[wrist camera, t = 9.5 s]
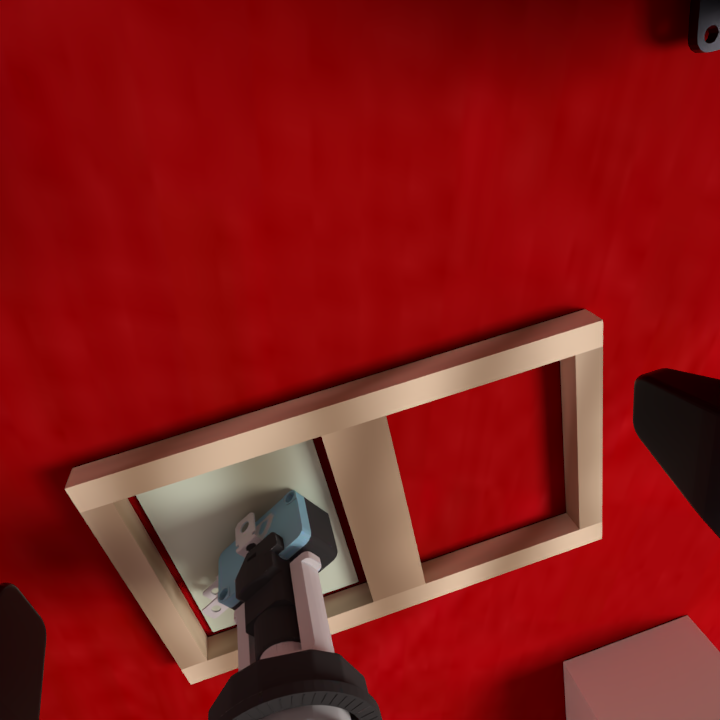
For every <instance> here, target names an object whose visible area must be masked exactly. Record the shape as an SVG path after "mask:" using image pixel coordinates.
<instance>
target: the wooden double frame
mask: <svg viewBox="0 0 720 720" xmlns="http://www.w3.org/2000/svg"><path fill="white" fill-rule="evenodd" d="M559 360H560V372H561V397H562V422H563V446H564V471H565V496H566V513H564V514H561V515H559V516H556V517H553V518H550V519H547V520H544V521H541V522H538V523H535V524H533V525H530V526H527V527H524V528H521V529H518V530H515V531H512V532H510V533H507V534H504V535H501V536H498V537H495V538H492V539H489V540H487V541H484V542H481V543H478V544H475V545H472V546H469V547H466V548H464V549H461V550H458V551H455V552H452V553H449V554H446V555H443V556H441V557H438V558H435V559H432V560H429V561H426V562H423V563H421V562H420V558H419V553H418V549H417V545H416V541H415V537H414V532H413V528H412V524H411V520H410V515H409V511H408V507H407V503H406V499H405V494H404V490H403V486H402V482H401V477H400V473H399V469H398V465H397V460H396V456H395V452H394V448H393V444H392V439H391V435H390V431H389V427H388V422H387V418H386V415H389V414H393V413H396V412H399V411H402V410H405V409H408V408H411V407H415V406H418V405H421V404H424V403H427V402H430V401H433V400H436V399H440V398H443V397H446V396H449V395H452V394H455V393H458V392H462V391H465V390H468V389H471V388H474V387H477V386H480V385H484V384H487V383H490V382H493V381H496V380H499V379H502V378H506V377H509V376H512V375H515V374H518V373H521V372H524V371H528V370H531V369H534V368H537V367H540V366H543V365H546V364H550V363H553V362H556V361H559ZM602 417H603V320H602V319H600V318H599V317H597V316H595V315H594V314H592V313H591V312H589V311H587V310H586V309H584V310H581V311H577V312H574V313H571V314H568V315H564V316H561V317H558V318H555V319H552V320H548V321H545V322H542V323H539V324H535V325H532V326H529V327H526V328H522V329H519V330H516V331H513V332H510V333H506V334H503V335H500V336H497V337H493V338H490V339H487V340H484V341H481V342H477V343H474V344H471V345H468V346H464V347H461V348H458V349H455V350H452V351H448V352H445V353H442V354H439V355H435V356H432V357H429V358H426V359H423V360H419V361H416V362H413V363H410V364H406V365H403V366H400V367H397V368H394V369H390V370H387V371H384V372H381V373H377V374H374V375H371V376H368V377H365V378H361V379H358V380H355V381H352V382H348V383H345V384H342V385H339V386H336V387H332V388H329V389H326V390H323V391H319V392H316V393H313V394H310V395H307V396H303V397H300V398H297V399H294V400H290V401H287V402H284V403H281V404H278V405H274V406H271V407H268V408H265V409H261V410H258V411H255V412H252V413H249V414H245V415H242V416H239V417H236V418H232V419H229V420H226V421H223V422H219V423H216V424H213V425H210V426H207V427H203V428H200V429H197V430H194V431H190V432H187V433H184V434H181V435H178V436H174V437H171V438H168V439H165V440H161V441H158V442H155V443H152V444H149V445H145V446H142V447H139V448H136V449H132V450H129V451H126V452H123V453H120V454H116V455H113V456H110V457H107V458H103V459H100V460H97V461H94V462H91V463H87V464H84V465H81V466H78V467H74V468H72V470H71V473H70V476H69V478H68V481H67V483H66V486H65V491H66V492H67V494H68V495H69V497H70V498H71V500H72V501H73V503H74V504H75V506H76V508H77V509H78V511H79V512H80V514H81V515H82V517H83V518H84V520H85V521H86V523H87V525H88V526H89V528H90V529H91V531H92V532H93V534H94V535H95V537H96V538H97V540H98V542H99V543H100V545H101V546H102V548H103V549H104V551H105V552H106V554H107V555H108V557H109V559H110V560H111V562H112V563H113V565H114V566H115V568H116V569H117V571H118V572H119V574H120V576H121V577H122V579H123V580H124V582H125V583H126V585H127V586H128V588H129V589H130V591H131V593H132V594H133V596H134V597H135V599H136V600H137V602H138V603H139V605H140V606H141V608H142V610H143V611H144V613H145V614H146V616H147V617H148V619H149V620H150V622H151V623H152V625H153V627H154V628H155V630H156V631H157V633H158V634H159V636H160V637H161V639H162V640H163V642H164V644H165V645H166V647H167V648H168V650H169V651H170V653H171V654H172V656H173V657H174V659H175V661H176V662H177V664H178V665H179V667H180V668H181V670H182V671H183V673H184V674H185V676H186V678H187V679H188V681H189V682H190V684H194V683H197V682H199V681H202V680H205V679H208V678H211V677H214V676H216V675H219V674H222V673H225V672H228V671H230V670H233V669H236V668H238V637H237V627H236V628H233V629H231V630H228V631H225V632H222V633H219V634H216V635H213V636H210V637H207V635H206V633H205V632H204V630H203V628H202V627H201V625H200V623H199V621H198V620H197V618H196V616H195V614H194V613H193V611H192V609H191V607H190V606H189V604H188V602H187V601H186V599H185V597H184V595H183V594H182V592H181V590H180V588H179V587H178V585H177V583H176V582H175V580H174V578H173V576H172V575H171V573H170V571H169V569H168V568H167V566H166V564H165V562H164V561H163V559H162V557H161V556H160V554H159V552H158V550H157V549H156V547H155V545H154V543H153V542H152V540H151V538H150V536H149V535H148V533H147V531H146V530H145V528H144V526H143V524H142V523H141V521H140V519H139V517H138V516H137V514H136V512H135V510H134V509H133V507H132V505H131V504H130V502H129V500H128V498H129V497H132V496H135V495H136V497H137V499H138V500H139V502H140V504H141V506H142V508H143V509H144V511H145V513H146V515H147V516H148V518H149V520H150V522H151V523H152V525H153V527H154V529H155V531H156V532H157V534H158V536H159V538H160V539H161V541H162V543H163V545H164V546H165V548H166V550H167V552H168V554H169V555H170V557H171V559H172V561H173V562H174V564H175V566H176V568H177V569H178V571H179V573H180V575H181V577H182V578H183V580H184V582H185V584H186V585H187V587H188V589H189V591H190V592H191V594H192V596H193V598H194V600H195V601H196V603H197V605H198V607H199V608H200V610H201V612H202V609H204V608H205V607H206V606H207V605H208V604H209V603H210V602H212V601H213V600H211V599H209V598H207V597H205V596H203V591H205V590H206V589H207V588H208V587H209V586H210V585H211V584H213V583H214V582H215V581H216V580H217V578H216V576H217V575H218V561H219V557H220V555H221V553H222V552H223V551H224V550H225V549H226V548H227V547H228V546H230V545H231V544H232V543H233V542H234V541H235V540H236V538H235V528H236V526H237V524H238V523H239V522H240V521H241V520H242V519H243V518H245V517H246V516H247V515H248V514H249V513H250V512H252V513H255V522H256V521H258V520H259V519H260V518H261V517H262V516H263V515H264V514H265V513H267V512H268V511H269V510H270V509H271V508H272V507H273V506H274V505H276V504H277V503H278V502H279V501H280V500H281V499H282V498H283V497H284V496H285V495H286V494H287V493H288V492H289V491H291V490H295V491H296V492H298V493H299V494H300V495H302V496H303V497H305V498H306V499H308V500H309V501H310V502H312V503H313V504H315V505H316V506H318V507H319V508H321V509H322V510H324V511H325V512H327V513H328V514H329V518H330V522H331V526H332V530H333V534H334V538H335V542H336V546H337V550H338V553H337V556H336V558H335V559H334V561H332V562H331V563H330V564H329V565H328V566H326V567H325V568H324V569H323V570H322V571H321V572H319V573H318V574H319V579H320V584H321V589H322V594H325V593H328V592H331V591H334V590H337V589H340V588H342V587H345V586H348V585H351V584H354V583H357V582H359V580H358V577H357V574H356V571H355V568H354V565H353V562H352V559H351V556H350V553H349V550H348V547H347V543H346V540H345V537H344V534H343V531H342V528H341V525H340V522H339V519H338V516H337V513H336V510H335V507H334V504H333V501H332V498H331V495H330V491H329V488H328V485H327V482H326V479H325V476H324V473H323V470H322V467H321V464H320V461H319V458H318V455H317V452H316V449H315V446H314V443H313V439H314V438H317V437H320V436H321V437H322V440H323V443H324V446H325V449H326V453H327V456H328V459H329V462H330V465H331V468H332V472H333V475H334V478H335V481H336V484H337V487H338V491H339V494H340V497H341V500H342V503H343V507H344V510H345V513H346V516H347V519H348V522H349V526H350V529H351V532H352V535H353V538H354V541H355V545H356V548H357V551H358V554H359V557H360V560H361V564H362V567H363V570H364V573H365V576H366V579H367V582H366V583H363V584H360V585H357V586H354V587H351V588H348V589H346V590H343V591H340V592H337V593H334V594H331V595H328V596H325V597H323V599H324V604H325V609H326V614H327V619H328V624H329V629H330V634H331V635H332V634H335V633H338V632H340V631H343V630H346V629H349V628H352V627H354V626H357V625H360V624H363V623H366V622H369V621H371V620H374V619H377V618H380V617H383V616H385V615H388V614H391V613H394V612H397V611H400V610H402V609H405V608H408V607H411V606H414V605H416V604H419V603H422V602H425V601H428V600H431V599H433V598H436V597H439V596H442V595H445V594H447V593H450V592H453V591H456V590H459V589H462V588H464V587H467V586H470V585H473V584H476V583H478V582H481V581H484V580H487V579H490V578H493V577H495V576H498V575H501V574H504V573H507V572H509V571H512V570H515V569H518V568H521V567H524V566H526V565H529V564H532V563H535V562H538V561H540V560H543V559H546V558H549V557H552V556H555V555H557V554H560V553H563V552H566V551H569V550H571V549H574V548H577V547H580V546H583V545H586V544H588V543H591V542H594V541H597V540H600V539H602ZM248 525H249V522H247V523H246V524H245V525H244V526H243V528H242V533H243V532H245V531H246V529H247V528H248ZM212 592H213V593H217V592H218V588H214V589H213V590H212ZM211 609H212V610H213V611H218V610H220V609H221V607H220V606H218V605H216V606H213V607H212V608H211ZM234 611H235V610H233V609H231V608H228V609H227V610H225V611H224V612H223V613H222V614H221V615H220V616H219V617H217V618H215V619H213V618H211V617H209V616H207V615H205V614H203V613H202V614H203V615H204V617H205V619H206V621H207V623H208V624H209V626H210V628H211V630H212V631H213V632H216V631H219V630H221V629H224V628H227V627H230V626H233V625H236V624H235V623H234Z"/></svg>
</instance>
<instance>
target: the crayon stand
mask: <svg viewBox="0 0 720 720" xmlns="http://www.w3.org/2000/svg"><path fill="white" fill-rule="evenodd" d="M563 668H564V687H565V705H566V720H720V652H719V651H718V650H717V648H716V647H715V646H714V645H713V644H712V643H711V642H710V640H709V639H708V638H707V637H706V636H705V635H704V634H703V632H702V631H701V630H700V629H699V628H698V627H697V626H696V624H695V623H694V622H693V621H692V620H691V619H690V618H689V616H688V615H687V616H684V617H681V618H679V619H676V620H673V621H671V622H668V623H665V624H663V625H660V626H658V627H655V628H652V629H650V630H647V631H644V632H642V633H639V634H636V635H634V636H631V637H628V638H626V639H623V640H620V641H618V642H615V643H612V644H610V645H607V646H604V647H602V648H599V649H596V650H594V651H591V652H588V653H586V654H583V655H580V656H578V657H575V658H572V659H570V660H567V661H564V662H563Z"/></svg>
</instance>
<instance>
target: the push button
mask: <svg viewBox="0 0 720 720" xmlns="http://www.w3.org/2000/svg"><path fill="white" fill-rule="evenodd" d="M247 522H249V525H248V528H247V529H246V531H245V532H243V533H242V528H243V526H244V525H245V524H246V523H247ZM235 538H236V540H235V541H234V542H233V543H232V544H231V545H230V546H228V547H227V548H226V549H225V550H224V551H223V552H222V553H221V555H220V557H219V561H218V575H217V576H216V578H217V580H216V581H215V582H214V583H213V584H211V585H210V586H209V587H208V588H207V589H206V590H205V591H203V596H205V597H207V598H209V599H211V600H213V601H212V602H210V603H209V604H208V605H207V606H206V607H205V608H204V609H202V613H203V614H205V615H207V616H209V617H211V618H213V619H215V618H217V617H219V616H220V615H221V614H222V613H223V612H224V611H225V610H227V609H228V608H231V609H233V610H235V611H234V623H235V624H237V637H238V669H239V672H237V673H235V674H234V675H232V676H231V677H230V679H229V680H228V682H227V683H226V685H225V687H224V688H223V690H222V691H221V693H220V694H219V696H218V697H217V699H216V700H215V702H214V703H213V705H212V707H211V708H210V710H209V714H208V720H382V717H381V713H380V710H379V707H378V705H377V703H376V701H375V700H374V698H373V697H372V696H371V695H370V694H369V693H368V690H367V686H366V682H365V678H364V677H363V675H362V674H360V673H359V672H358V671H357V670H356V669H355V668H354V667H353V666H352V665H351V664H350V663H348V662H347V661H346V660H345V659H344V658H343V657H342V656H341V655H339V654H337V653H334V649H333V644H332V639H331V634H330V629H329V624H328V619H327V614H326V609H325V604H324V599H323V594H322V589H321V584H320V579H319V574H318V573H319V572H321V571H322V570H323V569H324V568H325V567H326V566H328V565H329V564H330V563H331V562H332V561H334V559H335V558H336V556H337V553H338V550H337V546H336V542H335V538H334V534H333V530H332V526H331V522H330V518H329V514H328V513H327V512H325V511H324V510H322V509H321V508H319V507H318V506H316V505H315V504H313V503H312V502H310V501H309V500H308V499H306V498H305V497H303V496H302V495H300V494H299V493H298V492H296V491H295V490H291V491H289V492H288V493H287V494H286V495H285V496H284V497H283V498H282V499H281V500H280V501H279V502H278V503H277V504H276V505H274V506H273V507H272V508H271V509H270V510H269V511H268V512H267V513H265V514H264V515H263V516H262V517H261V518H260V519H259V520H258V521H256V522H255V513H252V512H250V513H249V514H248V515H247V516H246V517H245V518H243V519H242V520H241V521H240V522H239V523H238V524H237V526H236V528H235ZM214 588H218V592H217V593H213V592H212V590H213V589H214ZM216 605H218V606H220V607H221V609H220V610H218V611H213V610H212V609H211V608H212V607H213V606H216Z"/></svg>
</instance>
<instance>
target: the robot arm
mask: <svg viewBox="0 0 720 720" xmlns="http://www.w3.org/2000/svg"><path fill="white" fill-rule="evenodd" d="M707 29H708V30H709V35H708V38H707V40H706V41H705V39H704V35H705V31H706V30H707ZM688 45H689V47H690V49H691V50H692V51H693V52H695V53H703V52H712V51H716V50H719V49H720V0H691V3H690V17H689V32H688ZM633 424H634V428H635V431H636V433H637V435H638V437H639V438H640V439H641V441H642V442H643V443H644V445H645V446H646V447H647V449H648V450H649V451H650V452H651V454H652V455H653V456H654V458H655V459H656V460H657V462H658V463H659V464H660V465H661V467H662V468H663V469H664V471H665V472H666V473H667V475H668V476H669V477H670V478H671V480H672V481H673V482H674V484H675V485H676V486H677V488H678V489H679V490H680V491H681V493H682V494H683V495H684V497H685V498H686V499H687V501H688V502H689V503H690V504H691V506H692V507H693V508H694V509H695V511H696V512H697V513H698V514H699V515H700V517H701V518H702V519H703V520H704V521H705V523H706V524H707V525H708V526H709V527H710V528H711V529H712V530H713V531H714V533H715V534H716V535H717V536H718V537H719V538H720V380H719V379H715V378H710V377H705V376H701V375H696V374H691V373H687V372H682V371H677V370H673V369H668V368H662V369H658V370H655V371H652V372H649V373H646V374H643V375H641V376H639V377H638V378H637V379H636V381H635V384H634V404H633ZM45 647H46V629H45V625H44V622H43V620H42V618H41V617H40V616H39V614H38V613H37V612H36V611H35V609H34V608H33V607H32V606H31V604H30V603H29V602H28V601H27V599H26V598H25V597H24V596H23V594H22V593H21V592H20V590H19V589H18V588H17V587H16V586H15V585H13V584H11V583H1V584H0V720H39V715H40V703H41V692H42V681H43V670H44V658H45Z"/></svg>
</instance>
